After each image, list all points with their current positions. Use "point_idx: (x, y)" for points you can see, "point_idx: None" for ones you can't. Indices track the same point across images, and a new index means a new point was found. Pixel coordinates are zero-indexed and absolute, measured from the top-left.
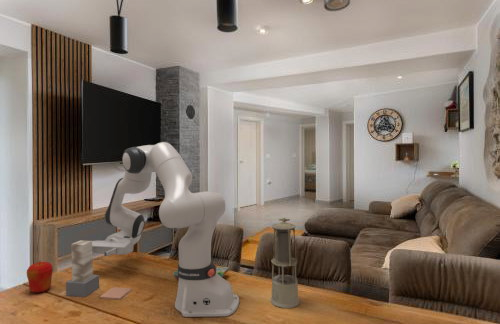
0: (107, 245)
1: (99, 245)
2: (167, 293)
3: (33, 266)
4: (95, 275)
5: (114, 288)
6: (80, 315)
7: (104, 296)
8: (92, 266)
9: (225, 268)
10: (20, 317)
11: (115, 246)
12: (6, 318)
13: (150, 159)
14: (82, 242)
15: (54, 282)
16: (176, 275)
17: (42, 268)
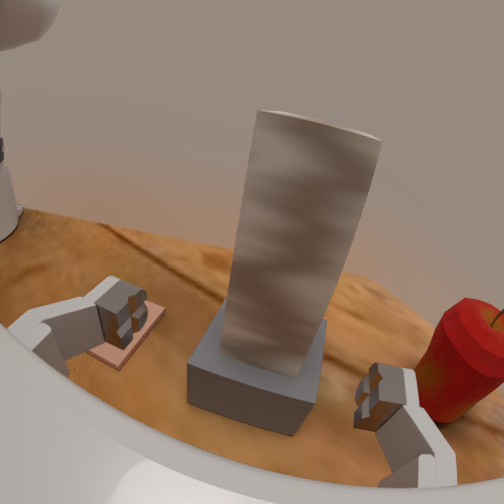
0: (99, 422)
1: (284, 485)
2: None
3: (490, 304)
4: (208, 363)
5: (112, 352)
6: (201, 253)
7: (149, 304)
8: (226, 306)
9: None
10: (344, 276)
11: (2, 329)
12: (370, 279)
13: None
14: (318, 121)
15: None
16: None
17: (457, 303)
